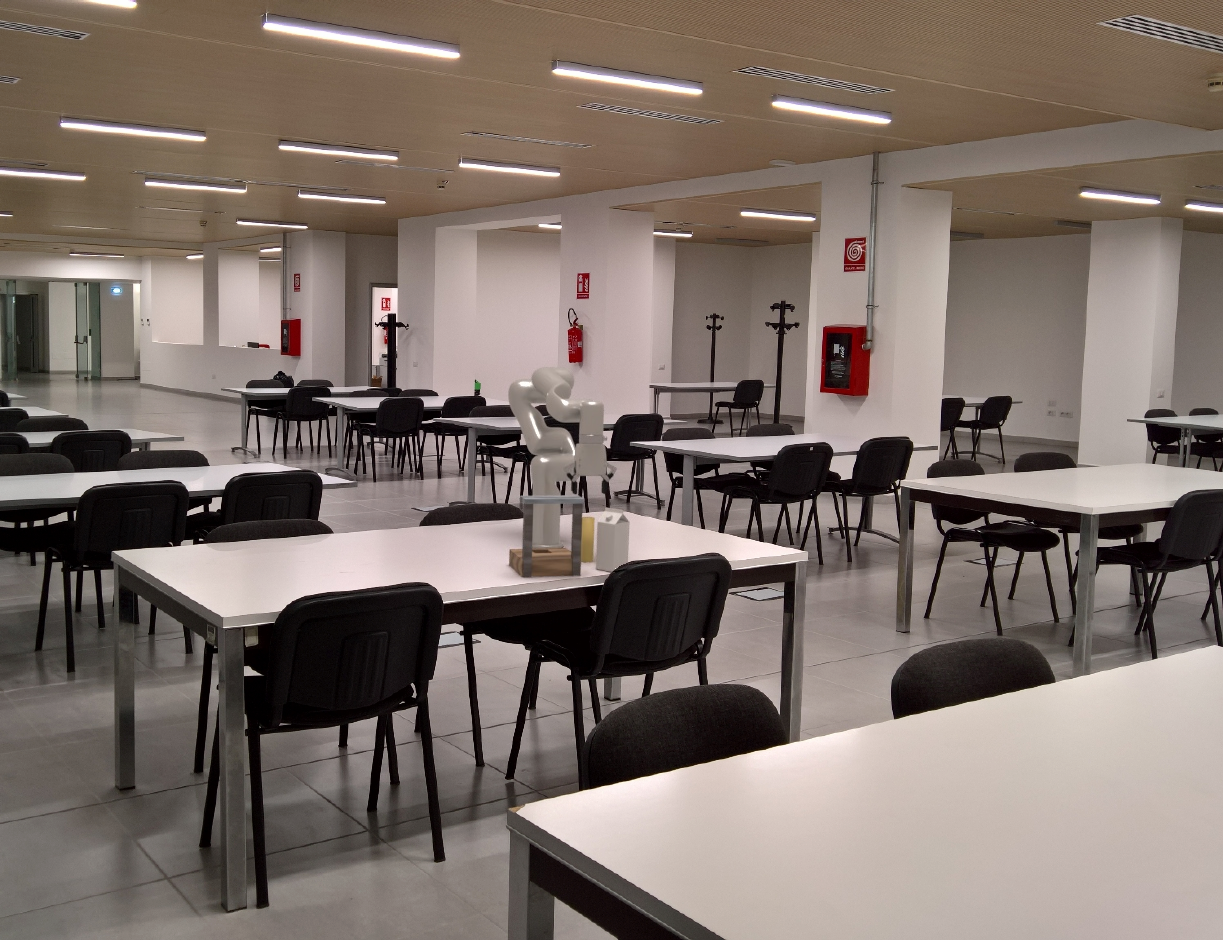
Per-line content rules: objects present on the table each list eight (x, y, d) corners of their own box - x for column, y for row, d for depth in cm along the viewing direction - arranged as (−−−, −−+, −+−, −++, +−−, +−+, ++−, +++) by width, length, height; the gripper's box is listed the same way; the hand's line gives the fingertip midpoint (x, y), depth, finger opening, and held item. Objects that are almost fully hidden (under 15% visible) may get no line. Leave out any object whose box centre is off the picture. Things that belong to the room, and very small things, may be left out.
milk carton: (610, 566, 352) (612, 506, 350) (627, 569, 347) (630, 509, 345) (595, 569, 346) (597, 508, 344) (613, 572, 342) (615, 511, 340)
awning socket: (509, 564, 348) (511, 490, 346) (565, 563, 354) (567, 489, 351) (523, 577, 330) (525, 499, 327) (581, 576, 335) (584, 498, 333)
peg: (579, 559, 360) (580, 516, 359) (591, 559, 361) (592, 516, 360) (582, 562, 356) (584, 518, 355) (594, 562, 358) (596, 518, 356)
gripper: (613, 439, 361) (611, 492, 362) (561, 438, 355) (560, 492, 357) (620, 441, 353) (618, 495, 355) (567, 440, 348) (566, 495, 350)
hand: (589, 493), depth 356 cm, fingers open, 9 cm apart
